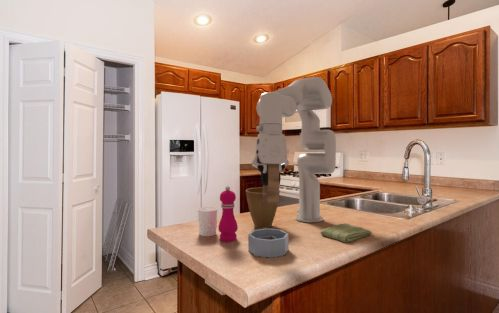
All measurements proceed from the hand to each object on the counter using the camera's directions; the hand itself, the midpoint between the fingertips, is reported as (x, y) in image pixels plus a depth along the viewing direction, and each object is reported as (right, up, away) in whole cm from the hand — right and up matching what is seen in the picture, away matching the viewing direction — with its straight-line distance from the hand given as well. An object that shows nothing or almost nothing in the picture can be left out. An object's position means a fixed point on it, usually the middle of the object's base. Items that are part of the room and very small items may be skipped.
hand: (270, 184), depth 95 cm
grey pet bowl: (-1, -22, -1) cm, 22 cm away
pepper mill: (-15, -22, +12) cm, 29 cm away
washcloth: (+31, -22, +16) cm, 41 cm away
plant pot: (-1, -21, +29) cm, 36 cm away
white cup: (-24, -22, +19) cm, 37 cm away
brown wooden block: (0, -6, 0) cm, 6 cm away
